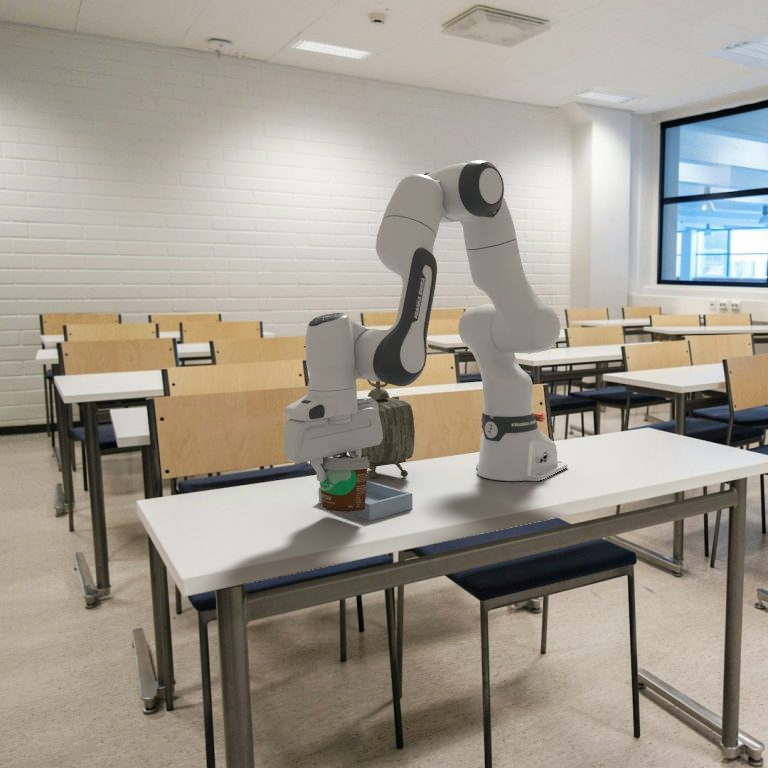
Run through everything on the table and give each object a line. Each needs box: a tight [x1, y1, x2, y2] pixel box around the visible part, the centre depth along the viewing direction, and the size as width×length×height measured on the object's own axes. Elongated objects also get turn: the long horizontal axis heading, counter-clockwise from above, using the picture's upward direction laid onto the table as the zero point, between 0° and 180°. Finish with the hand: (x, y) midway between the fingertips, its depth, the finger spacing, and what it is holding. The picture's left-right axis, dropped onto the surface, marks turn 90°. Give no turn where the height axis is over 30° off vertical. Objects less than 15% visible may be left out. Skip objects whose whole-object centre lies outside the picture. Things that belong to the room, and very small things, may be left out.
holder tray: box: [318, 479, 414, 522], centre depth 138 cm, size 11×17×3 cm, turn 40°
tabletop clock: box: [347, 380, 416, 479], centre depth 160 cm, size 14×9×25 cm, turn 45°
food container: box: [319, 454, 370, 513], centre depth 128 cm, size 12×6×10 cm, turn 44°
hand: (337, 477), depth 128 cm, fingers closed on food container, 5 cm apart
